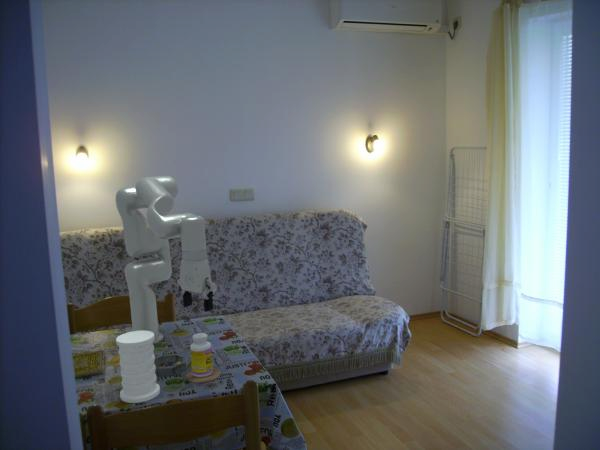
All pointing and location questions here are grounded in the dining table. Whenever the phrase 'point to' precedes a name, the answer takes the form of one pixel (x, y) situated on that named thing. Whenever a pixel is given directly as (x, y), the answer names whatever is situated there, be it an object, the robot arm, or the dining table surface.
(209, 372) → the supplement bottle
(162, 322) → the dining table surface
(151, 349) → the decorative container
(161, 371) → the collar
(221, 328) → the dining table surface
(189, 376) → the coaster
